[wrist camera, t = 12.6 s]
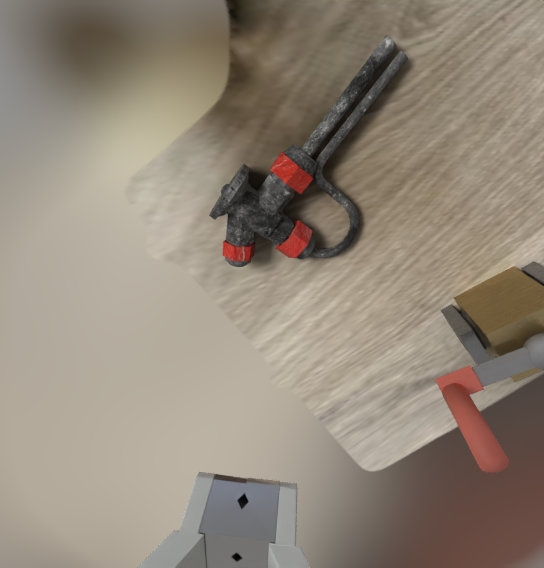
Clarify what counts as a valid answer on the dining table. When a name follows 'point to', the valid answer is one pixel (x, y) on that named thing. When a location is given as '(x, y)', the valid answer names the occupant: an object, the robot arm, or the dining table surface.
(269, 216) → the valve
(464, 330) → the lever valve base
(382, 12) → the dining table surface
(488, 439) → the lever
